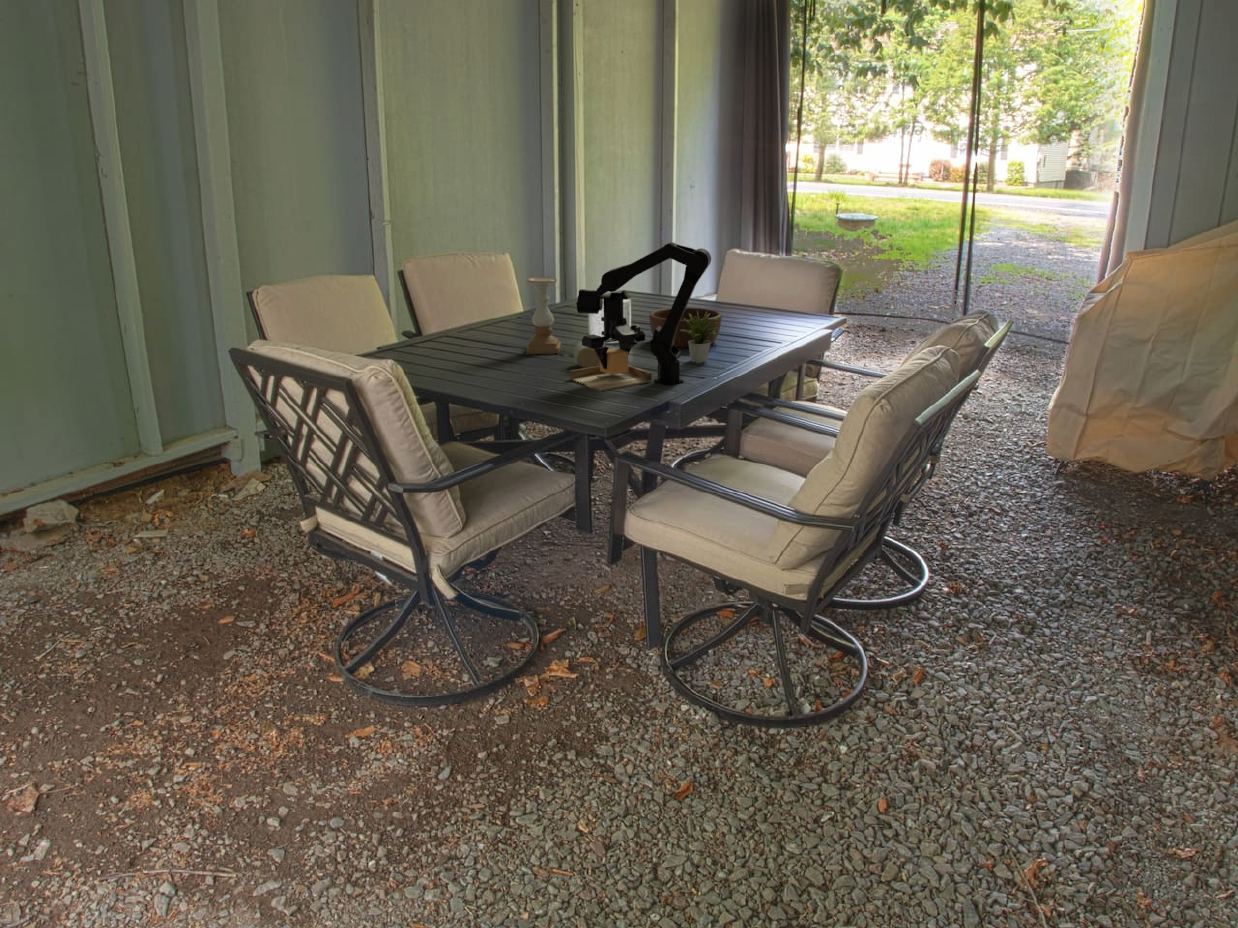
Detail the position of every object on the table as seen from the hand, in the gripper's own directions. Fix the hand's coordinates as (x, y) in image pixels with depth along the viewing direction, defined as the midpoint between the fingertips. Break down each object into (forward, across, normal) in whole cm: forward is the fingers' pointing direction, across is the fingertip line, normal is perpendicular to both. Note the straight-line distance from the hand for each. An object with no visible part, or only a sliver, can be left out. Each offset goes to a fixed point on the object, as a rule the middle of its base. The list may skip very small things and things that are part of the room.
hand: (614, 367), depth 256 cm
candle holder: (+4, +2, +46) cm, 46 cm away
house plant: (+4, +34, +2) cm, 34 cm away
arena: (+4, -2, -1) cm, 4 cm away
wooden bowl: (+4, +48, +28) cm, 56 cm away
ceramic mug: (+4, +3, +17) cm, 18 cm away
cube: (+1, 0, 0) cm, 1 cm away
